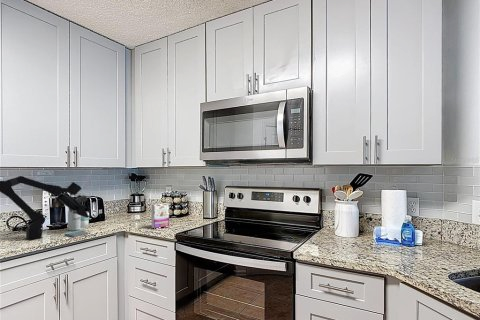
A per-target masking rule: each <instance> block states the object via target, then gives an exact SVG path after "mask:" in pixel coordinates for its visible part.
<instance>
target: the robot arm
mask: <svg viewBox="0 0 480 320" xmlns="http://www.w3.org/2000/svg"><path fill="white" fill-rule="evenodd" d="M19 184H23V185H26V186H29V187H32V188H36V189H39V190H42V191H44V192H46V193H48V194H51V195H52V196H55V197H54V202H57V203H58V201H60V202H61V203H62V204H63V205H64V206H65V207H67V208H68V211H71V212H72V211H73V213H75V214H78V215H81V216H84V217H87V218H88V217H89V218H90V215H89V216H88V214H87V213H86V212H87V211H86V209H87V207H88V206H86V205H85V204H82V203H85V202H87V201H88V198H87V196H86V195H81V194H79V195H77V194H78V193H79V192H80V191H81V190H82V189H83V188H82V187H81V186H80V185H78V184H77V183H75V182H74V181H72V182H71V183H70V184H69V185H67V187H61V186H60V185H55V184H48V183H43V182H42V181H38V180H35V179H32V178H29V177H28V178H27V177H25V176H23V175H18V176H16V177H12V178H10V179H6V180H0V193H1V194H3V195H4V196H6V197H8V198H9V199H10V200H11V201H12V202H13V203H14V204H15V205H16V206H17V207H18V208H20V210H22V211H23V213H25V215H27V217H28V218H29V221H28V222H27V223H26V227H27V228H26V229H25V230H26V231H25V237H24V238H23V239H24V240H28V241H33V240H38V239H43V229H42V225H43V224H44V223H45V222H46V218H45V216H46V215H45V214H43V213H42V212H41V211H40V210H39V209H37V210H35V209H33V208H32V207H31V206H29V204H28V203H26V202H25V200H23V199H22V198H21V197H20V196H19V195H18V193H16V192H15V190H14V189H13V188H12V187H15V186H17V185H19ZM76 195H77V196H76ZM73 196H76V198H74V197H73Z"/></svg>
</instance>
